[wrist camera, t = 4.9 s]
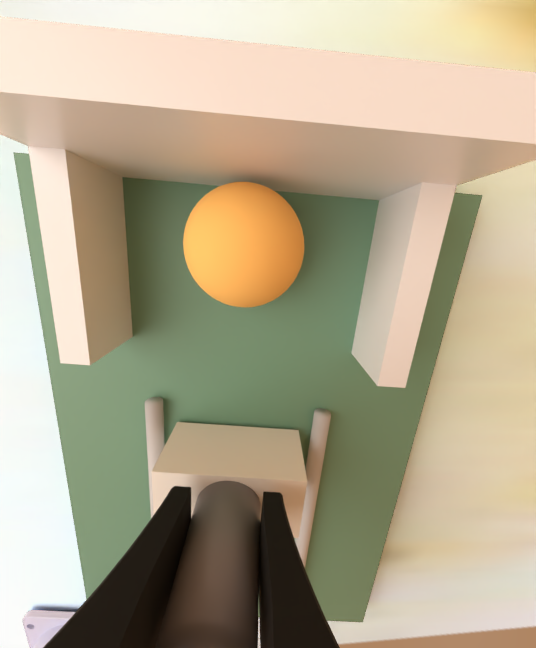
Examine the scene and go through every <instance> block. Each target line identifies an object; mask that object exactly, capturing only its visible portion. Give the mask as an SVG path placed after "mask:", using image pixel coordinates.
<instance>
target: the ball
mask: <svg viewBox="0 0 536 648" xmlns="http://www.w3.org/2000/svg"><path fill="white" fill-rule="evenodd" d="M183 248H184V255H185V260H186V263H187V266H188V269H189V271H190V273H191V275H192V277H193V278H194V280H195V281H196V282H197V284H198V285H199V286H200V287H201V288H202V289H203V290H204V291H205V292H206V293H207V294H208V295H210V296H211V297H212V298H214V299H216V300H218V301H220V302H222V303H224V304H227V305H230V306H235V307H256V306H260V305H264V304H266V303H268V302H271V301H273V300H275V299H276V298H278V297H279V296H281V295H282V294H283V293H284V292H285V291H286V290H287V289H288V288H289V287H290V286H291V284H292V283H293V282H294V280H295V279H296V277H297V275H298V273H299V270H300V268H301V265H302V261H303V257H304V236H303V231H302V227H301V224H300V221H299V219H298V217H297V215H296V213H295V211H294V210H293V208H292V207H291V206H290V204H289V203H288V202H287V201H286V200H285V199H284V198H283V197H282V196H280V195H279V194H278V193H276V192H275V191H273V190H272V189H270V188H268V187H266V186H263V185H260V184H257V183H252V182H233V183H228V184H225V185H222V186H219V187H217V188H215V189H213V190H212V191H210V192H209V193H207V194H206V195H205V196H204V197H203V198H202V199H201V200H200V201H199V202H198V203H197V204H196V206H195V207H194V208H193V210H192V211H191V213H190V216H189V218H188V220H187V223H186V226H185V230H184V238H183Z"/></svg>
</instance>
